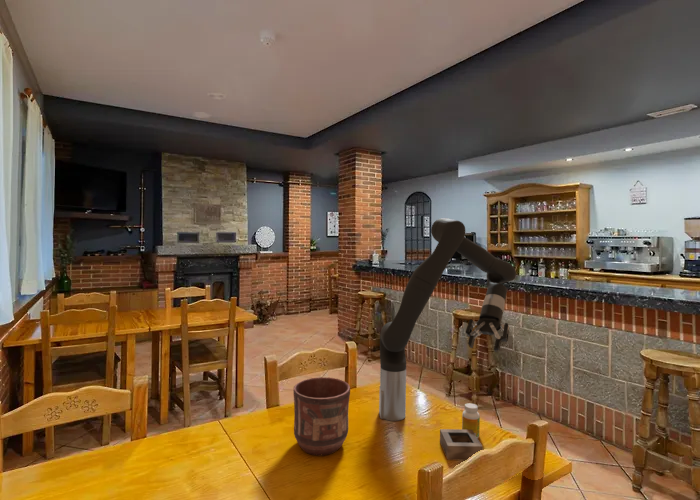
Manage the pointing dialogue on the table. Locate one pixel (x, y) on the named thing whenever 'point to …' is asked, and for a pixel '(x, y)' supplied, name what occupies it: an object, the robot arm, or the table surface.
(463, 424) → the supplement bottle
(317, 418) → the pottery
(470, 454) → the collar block
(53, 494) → the table surface
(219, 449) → the table surface
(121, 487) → the table surface
